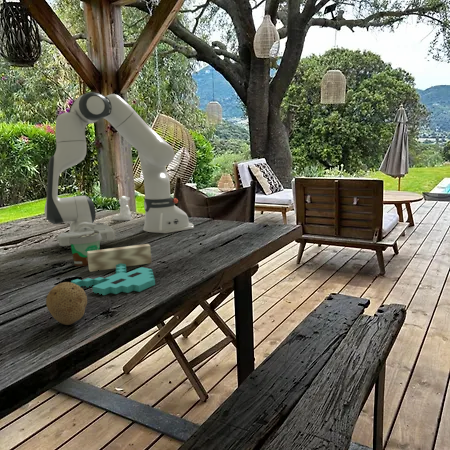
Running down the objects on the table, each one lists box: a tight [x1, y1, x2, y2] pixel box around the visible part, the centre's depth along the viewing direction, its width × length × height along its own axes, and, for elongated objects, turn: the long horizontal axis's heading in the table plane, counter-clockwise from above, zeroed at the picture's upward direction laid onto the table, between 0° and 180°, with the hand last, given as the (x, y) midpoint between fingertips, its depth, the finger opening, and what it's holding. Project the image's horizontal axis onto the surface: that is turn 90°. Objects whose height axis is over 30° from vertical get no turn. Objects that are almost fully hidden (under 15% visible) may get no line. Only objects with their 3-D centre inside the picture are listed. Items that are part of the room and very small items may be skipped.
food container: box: [69, 230, 102, 267], centre depth 153 cm, size 12×6×10 cm, turn 152°
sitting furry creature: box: [112, 195, 133, 222], centre depth 225 cm, size 10×9×12 cm
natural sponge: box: [45, 281, 88, 326], centre depth 105 cm, size 9×9×10 cm
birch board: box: [87, 243, 152, 272], centre depth 149 cm, size 20×3×6 cm, turn 114°
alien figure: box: [70, 263, 156, 296], centre depth 134 cm, size 20×2×20 cm
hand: (90, 241), depth 163 cm, fingers closed
